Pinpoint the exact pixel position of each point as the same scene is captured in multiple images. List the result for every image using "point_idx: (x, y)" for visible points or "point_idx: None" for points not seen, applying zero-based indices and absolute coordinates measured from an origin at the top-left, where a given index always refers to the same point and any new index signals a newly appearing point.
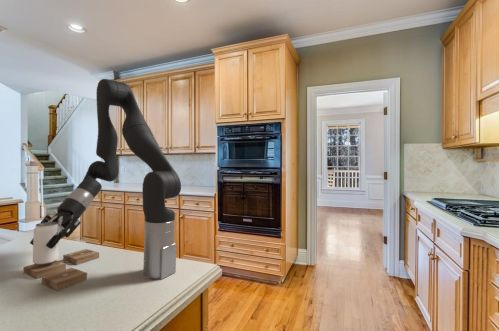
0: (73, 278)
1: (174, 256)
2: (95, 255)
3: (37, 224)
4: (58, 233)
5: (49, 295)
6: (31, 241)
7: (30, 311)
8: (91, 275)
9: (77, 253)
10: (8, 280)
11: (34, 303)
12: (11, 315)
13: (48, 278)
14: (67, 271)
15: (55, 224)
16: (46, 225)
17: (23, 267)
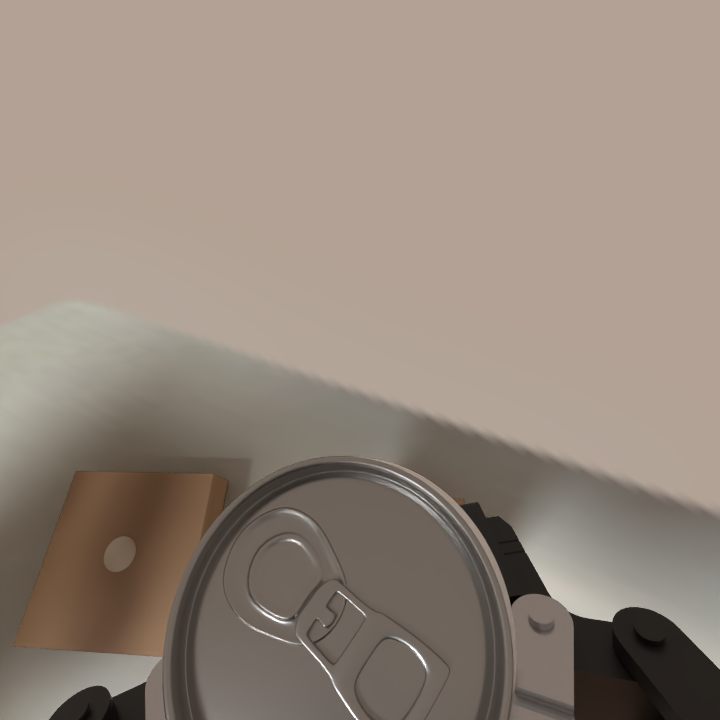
0: (49, 554)
1: None
2: None
3: (454, 524)
4: (154, 671)
5: (97, 439)
6: (468, 508)
7: (68, 356)
8: (58, 703)
9: None
10: (414, 425)
11: (100, 384)
12: (104, 322)
13: (164, 480)
14: (146, 595)
15: (164, 709)
16: (292, 592)
17: (462, 499)
